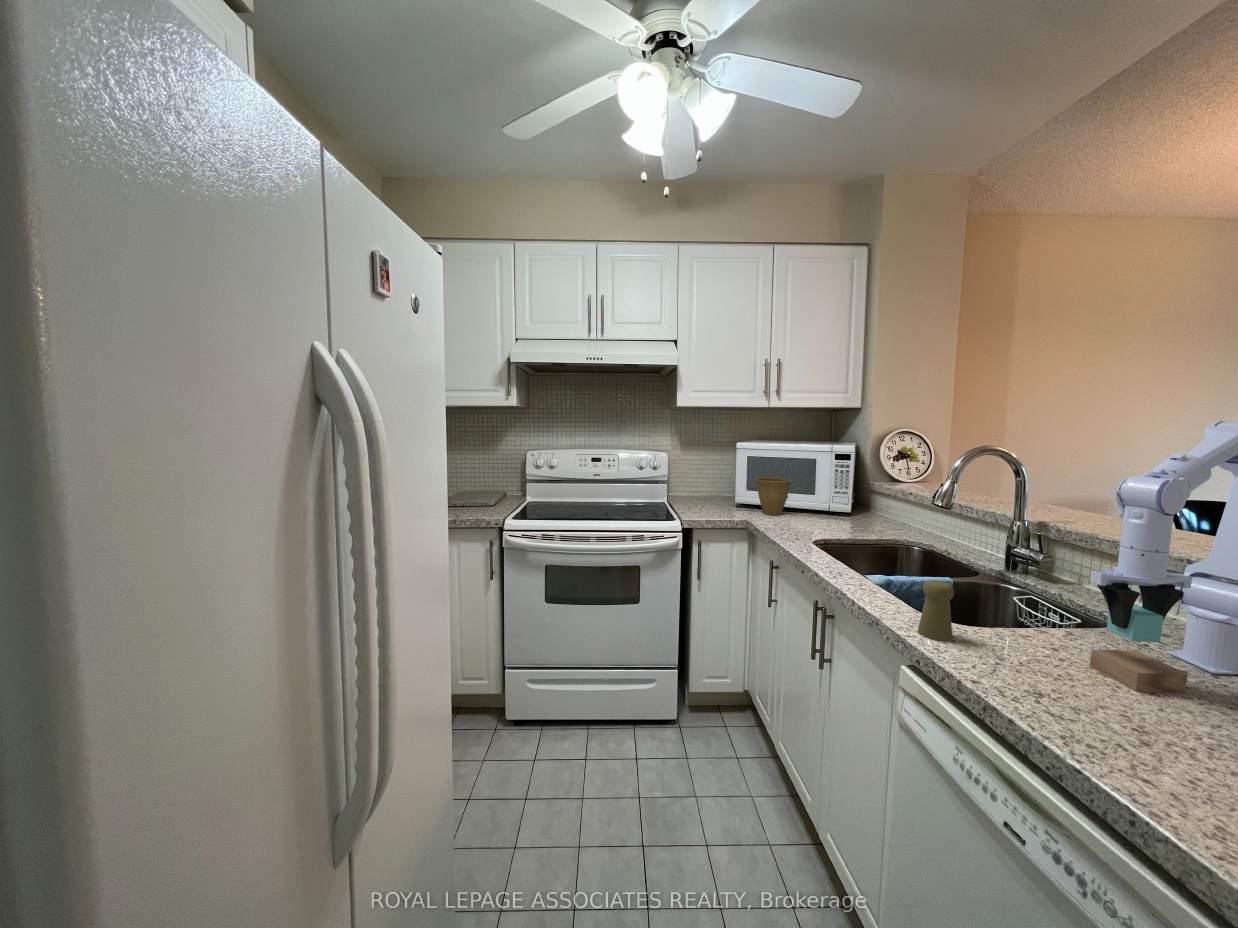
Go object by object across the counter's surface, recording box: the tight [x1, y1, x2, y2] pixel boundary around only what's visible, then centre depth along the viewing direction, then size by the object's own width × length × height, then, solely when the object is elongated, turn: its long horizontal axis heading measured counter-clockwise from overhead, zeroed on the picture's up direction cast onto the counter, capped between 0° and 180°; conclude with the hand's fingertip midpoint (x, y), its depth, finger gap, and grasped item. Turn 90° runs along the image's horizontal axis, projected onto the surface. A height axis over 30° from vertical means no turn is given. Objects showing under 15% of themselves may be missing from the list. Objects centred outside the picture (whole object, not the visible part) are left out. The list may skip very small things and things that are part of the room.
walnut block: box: [1089, 649, 1188, 693], centre depth 85 cm, size 8×8×4 cm
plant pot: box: [756, 477, 792, 516], centre depth 228 cm, size 15×15×16 cm
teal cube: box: [1106, 605, 1164, 643], centre depth 85 cm, size 4×4×4 cm
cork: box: [917, 579, 955, 642], centre depth 101 cm, size 6×6×11 cm
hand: (1134, 626), depth 85 cm, fingers closed on teal cube, 4 cm apart
